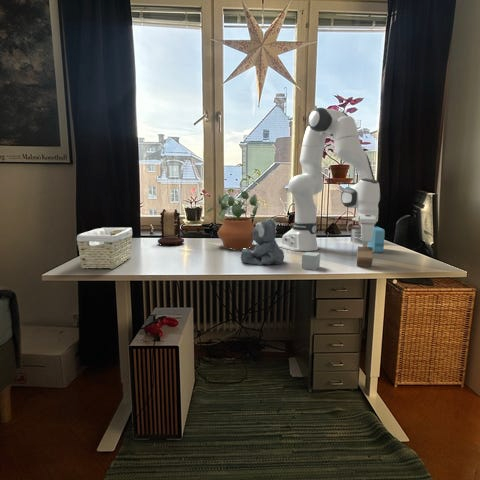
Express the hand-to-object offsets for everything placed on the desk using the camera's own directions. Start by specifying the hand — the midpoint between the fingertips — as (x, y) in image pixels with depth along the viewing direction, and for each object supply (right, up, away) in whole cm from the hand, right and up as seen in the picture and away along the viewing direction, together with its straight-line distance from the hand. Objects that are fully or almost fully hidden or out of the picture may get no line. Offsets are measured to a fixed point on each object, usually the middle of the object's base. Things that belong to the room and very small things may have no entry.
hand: (364, 248), depth 153 cm
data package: (+16, -2, +30) cm, 34 cm away
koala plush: (-43, -6, +6) cm, 44 cm away
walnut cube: (0, -1, 0) cm, 1 cm away
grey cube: (-24, -8, -4) cm, 26 cm away
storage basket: (-113, -7, +3) cm, 113 cm away
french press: (+13, +2, +52) cm, 53 cm away
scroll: (-94, +1, +47) cm, 105 cm away
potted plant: (-59, 0, +40) cm, 71 cm away
